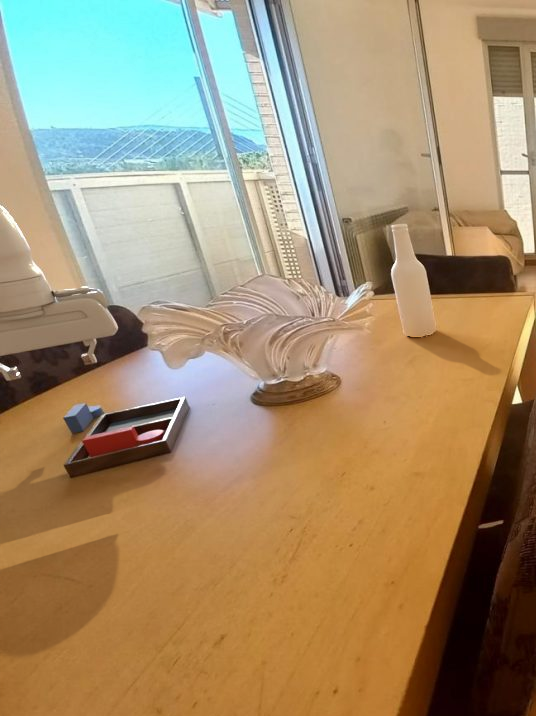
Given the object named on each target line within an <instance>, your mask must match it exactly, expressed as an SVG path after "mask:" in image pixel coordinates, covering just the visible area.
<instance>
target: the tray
mask: <svg viewBox="0 0 536 716" xmlns="http://www.w3.org/2000/svg"><path fill="white" fill-rule="evenodd" d="M189 411H190V405H189V402H188V400H187V398H186V396H183V397H178V398H173V399H168V400H164V401H158V402H155V403H148V404H145V405H140V406H135V407H131V408H127V409H121V410H116V411H112V412H106V413H103V414H102V415H100V416H98V419H96V421H95V422H94V424H93V425H92V426H91V428H90V429H89V430H88V432H87V433H86V435H85V436H84V437H86V436H91V435H95V434H100V433H104V432H109V431H113V430H117V429H122V428H126V427H131V426H134V428H135V430H136V432H137V434H138V436H139V435H141V434H143V433H146V432H149V431H153V430H163V431H164V433H165V435H164V437H163V439H162V440H160V441H156V442H152V443H148V444H144V445H140V446H135V447H131V448H127V449H123V450H119V451H115V452H110V453H106V454H102V455H98V456H94V457H90V455H89V453H88V451H87V449H86V448H85V446H84V444H83V442H82V440H81V441H80V442H79V444H78V445H77V447H76V448H75V449H74V450H73V452H72V453H71V454H70V456H69V457H68V458H67V460H66V461H65V462H64V463H63V465H62V466H63V467H64V470H65V471H66V472H67V474H68V476H69V478H71V479H72V478H75V477H76V478H77V477H79V476H83V475H88V474H92V473H95V472H99V471H102V470H107V469H111V468H115V467H120V466H123V465H126V464H130V463H134V462H139V461H143V460H147V459H151V458H154V457H158V456H163V455H167V454H170V453H171V454H172V452H173V450H174V447H175V444H176V442H177V439H178V437H179V434H180V433H181V429H182V427H183V424H184V423H185V420H186V417H187V415H188V412H189Z"/></svg>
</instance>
